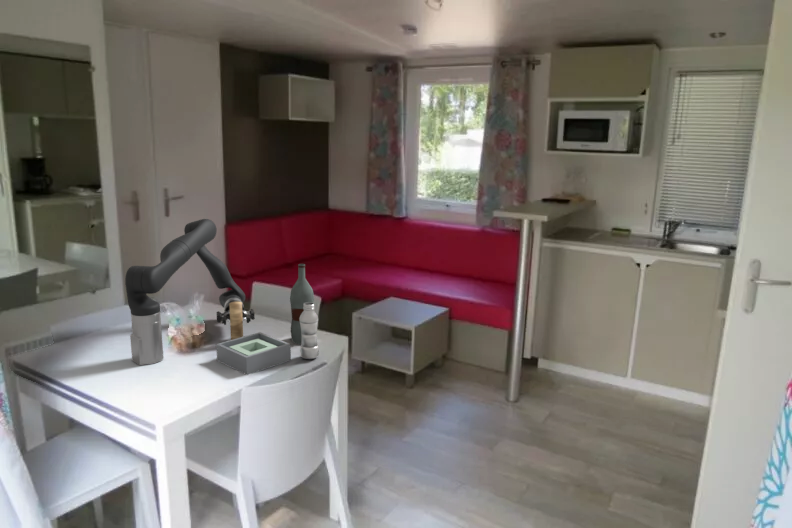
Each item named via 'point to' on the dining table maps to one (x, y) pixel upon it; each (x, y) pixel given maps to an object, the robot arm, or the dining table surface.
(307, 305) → the plastic bottle
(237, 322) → the peg
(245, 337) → the box
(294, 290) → the vodka
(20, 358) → the dining table surface
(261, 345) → the plate
